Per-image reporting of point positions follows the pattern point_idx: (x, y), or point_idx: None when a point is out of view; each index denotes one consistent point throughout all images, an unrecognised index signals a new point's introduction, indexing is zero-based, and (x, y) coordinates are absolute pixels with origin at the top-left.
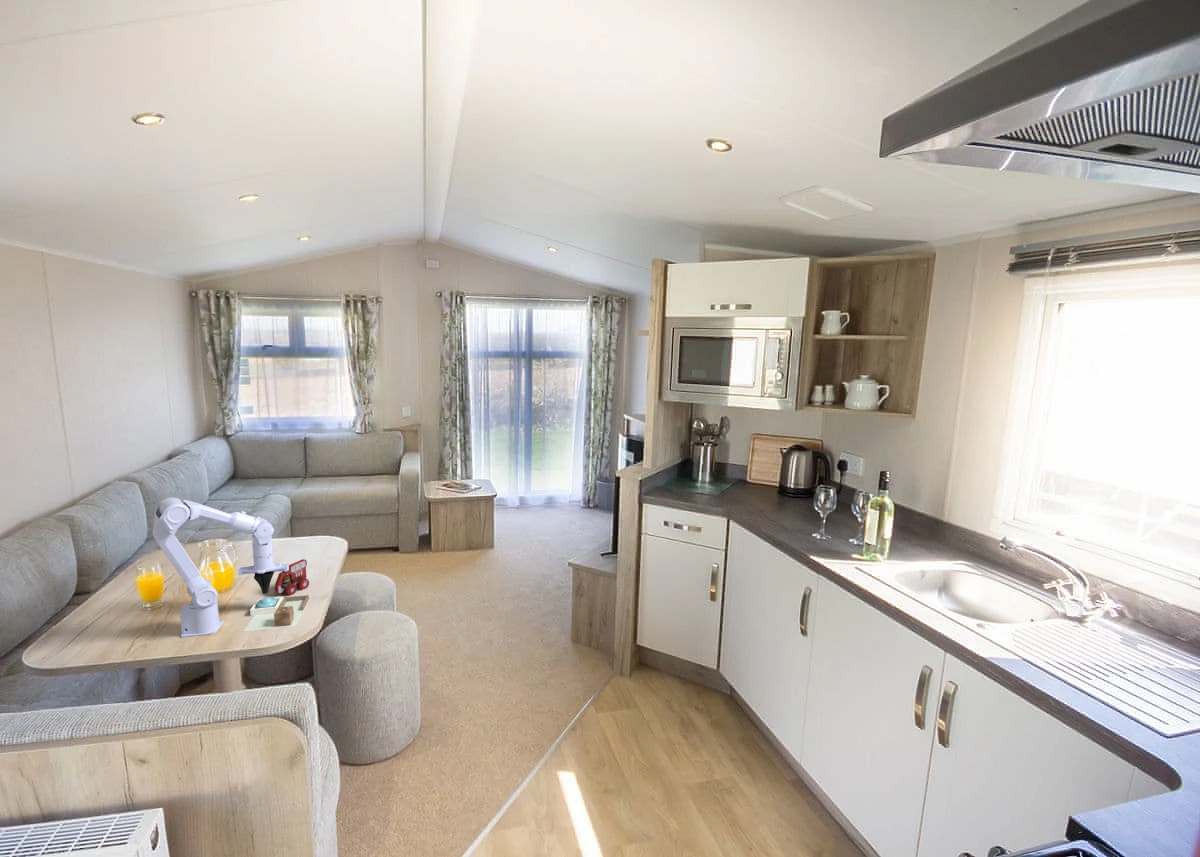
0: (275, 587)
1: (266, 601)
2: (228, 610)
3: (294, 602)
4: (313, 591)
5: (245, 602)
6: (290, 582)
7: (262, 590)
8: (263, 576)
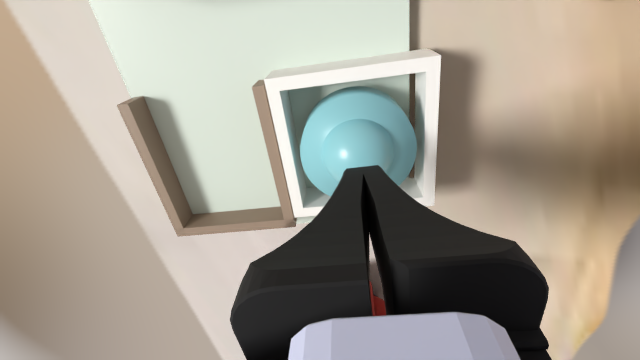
0: (371, 302)
1: (348, 132)
2: (577, 155)
3: (240, 194)
4: (223, 289)
5: (500, 228)
6: None
7: (380, 174)
8: (350, 273)
